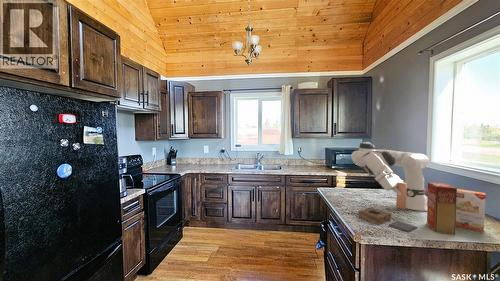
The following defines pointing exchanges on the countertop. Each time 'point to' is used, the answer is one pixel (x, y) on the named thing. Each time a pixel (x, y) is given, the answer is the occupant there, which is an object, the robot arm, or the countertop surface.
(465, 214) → the cracker box
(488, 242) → the countertop surface
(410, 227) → the rubber mat
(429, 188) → the food packaging
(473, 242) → the countertop surface
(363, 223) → the countertop surface
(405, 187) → the peg
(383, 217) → the pocket block
